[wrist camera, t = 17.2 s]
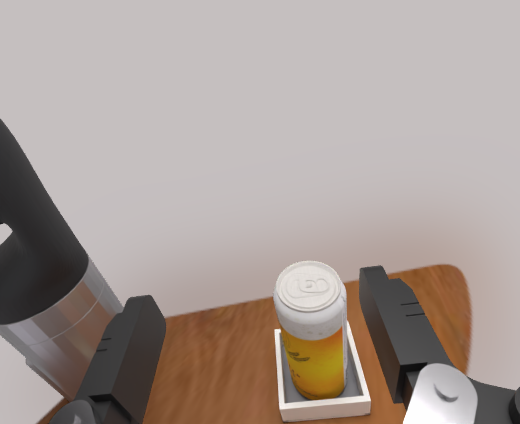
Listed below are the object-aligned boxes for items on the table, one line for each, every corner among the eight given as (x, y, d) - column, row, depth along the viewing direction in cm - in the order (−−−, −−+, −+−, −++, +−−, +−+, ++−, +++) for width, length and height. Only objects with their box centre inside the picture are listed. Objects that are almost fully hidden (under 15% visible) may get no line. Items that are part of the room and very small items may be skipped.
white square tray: (283, 422, 31) (279, 409, 30) (278, 343, 38) (274, 329, 37) (369, 414, 30) (371, 400, 29) (348, 335, 38) (348, 321, 36)
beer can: (292, 348, 37) (274, 258, 28) (344, 349, 36) (342, 256, 27) (290, 403, 32) (268, 315, 24) (350, 406, 31) (350, 315, 22)
